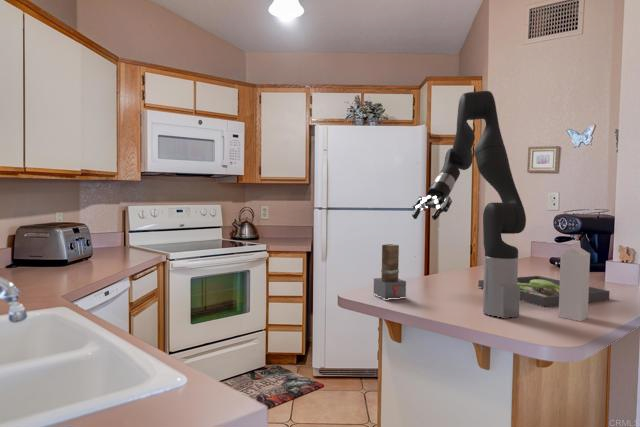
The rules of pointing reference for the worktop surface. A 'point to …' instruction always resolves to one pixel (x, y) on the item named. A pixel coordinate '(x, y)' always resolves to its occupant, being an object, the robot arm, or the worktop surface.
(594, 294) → the dark gray tray
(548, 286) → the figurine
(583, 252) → the milk
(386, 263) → the column
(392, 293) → the block
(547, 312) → the worktop surface
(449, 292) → the worktop surface
